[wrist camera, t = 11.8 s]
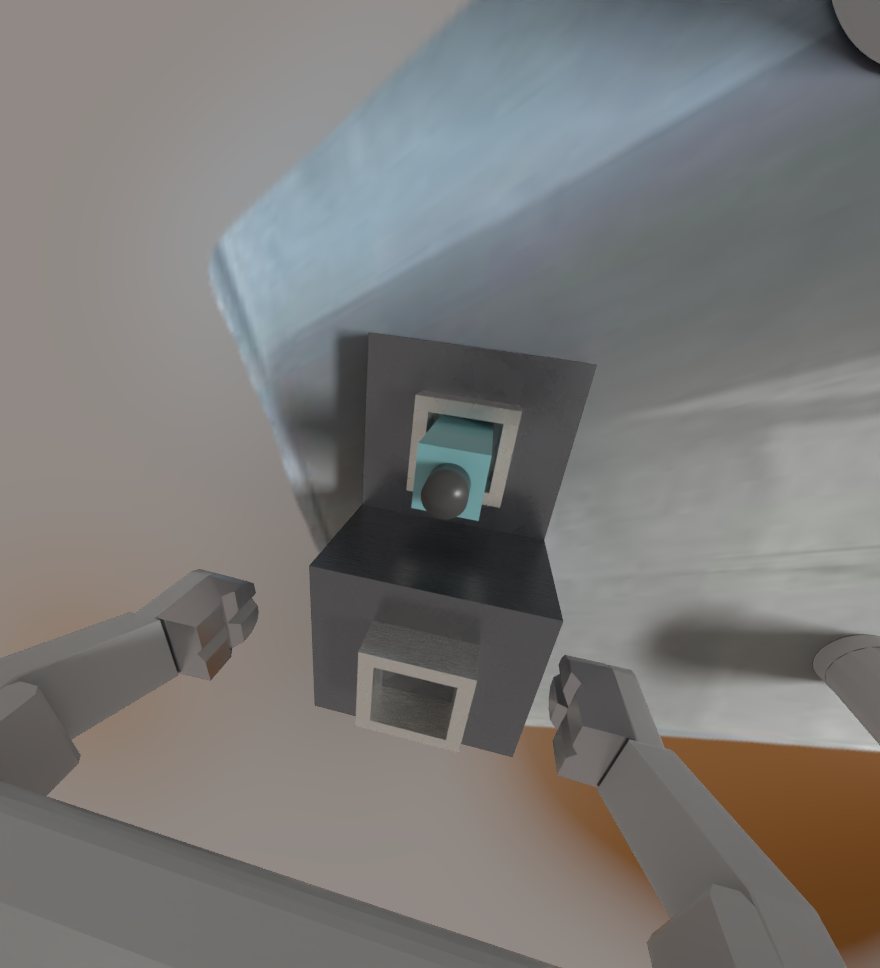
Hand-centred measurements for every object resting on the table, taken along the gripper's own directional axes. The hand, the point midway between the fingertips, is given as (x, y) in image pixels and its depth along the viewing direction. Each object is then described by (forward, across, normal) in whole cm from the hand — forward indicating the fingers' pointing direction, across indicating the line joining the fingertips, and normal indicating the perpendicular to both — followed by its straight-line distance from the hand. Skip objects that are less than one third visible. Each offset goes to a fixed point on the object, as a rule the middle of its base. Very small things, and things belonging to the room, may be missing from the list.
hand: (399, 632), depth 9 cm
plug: (+19, 0, +1) cm, 19 cm away
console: (+22, 0, +8) cm, 23 cm away
